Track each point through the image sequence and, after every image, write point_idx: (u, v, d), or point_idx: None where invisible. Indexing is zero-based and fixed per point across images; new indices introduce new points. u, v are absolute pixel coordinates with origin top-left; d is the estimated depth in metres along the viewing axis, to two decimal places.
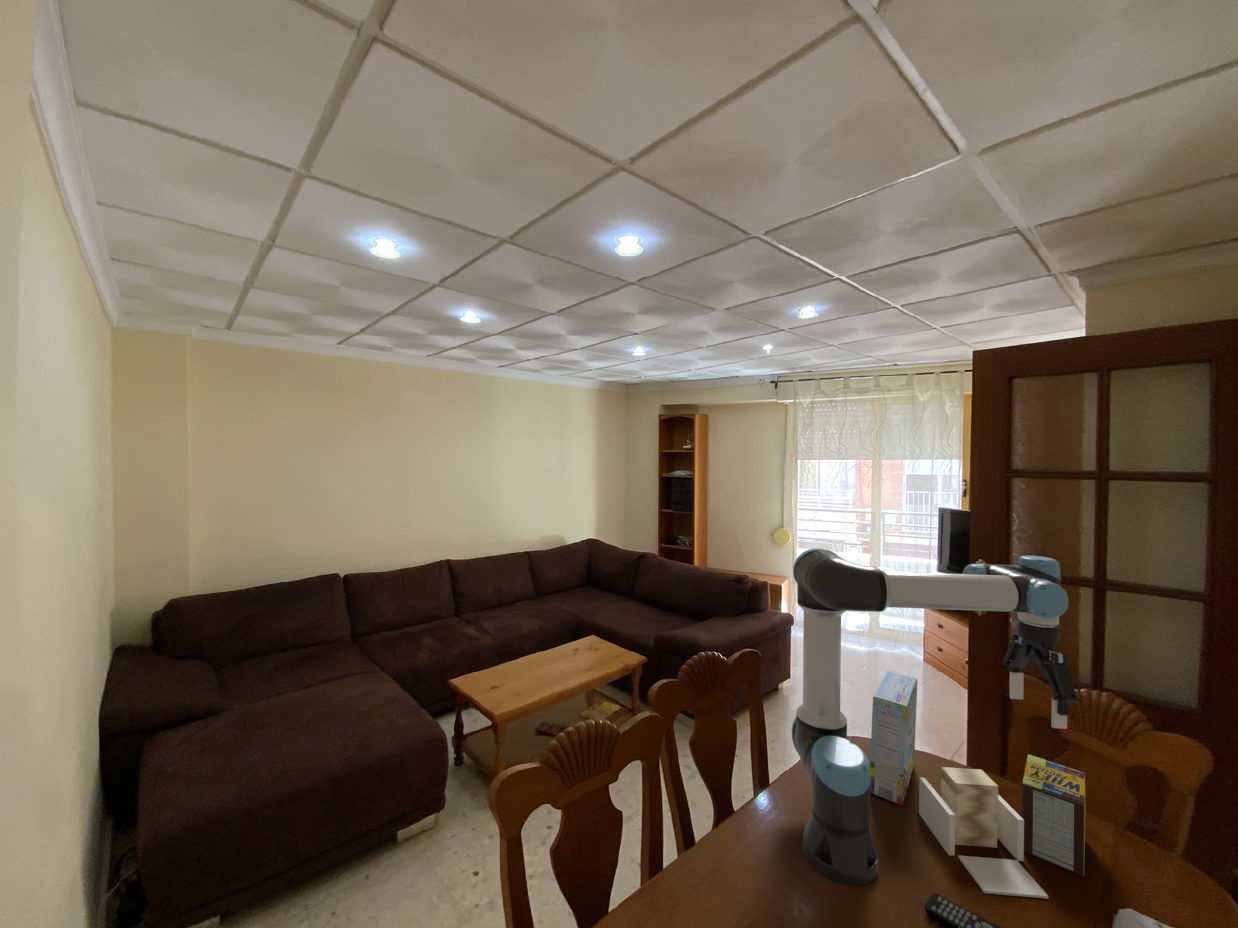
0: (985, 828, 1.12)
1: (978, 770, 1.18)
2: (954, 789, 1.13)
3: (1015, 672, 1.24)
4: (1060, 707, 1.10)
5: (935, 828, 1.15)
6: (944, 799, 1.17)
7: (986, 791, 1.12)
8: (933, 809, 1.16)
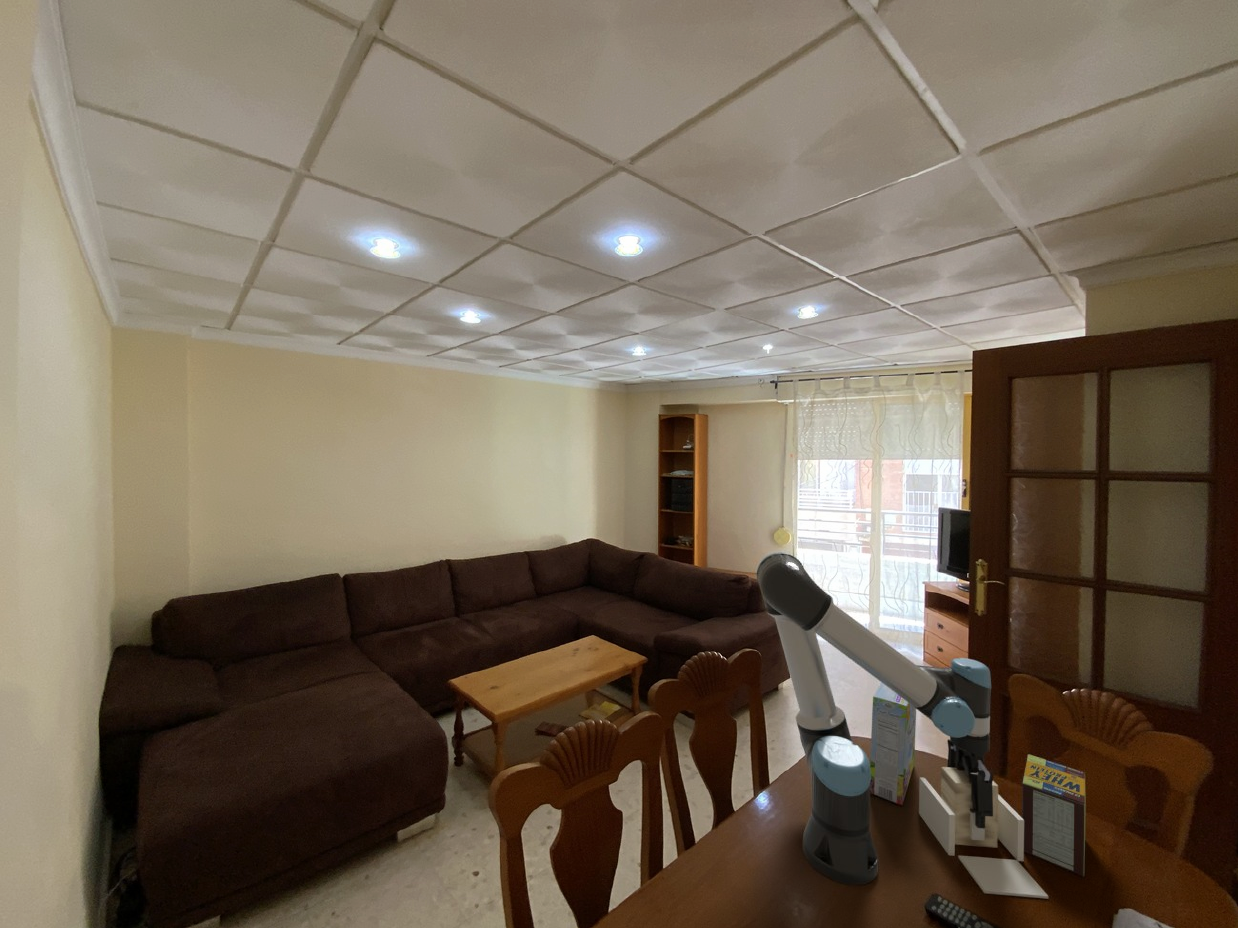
0: (985, 828, 1.12)
1: None
2: (954, 788, 1.13)
3: None
4: (977, 820, 1.11)
5: (935, 828, 1.15)
6: (944, 799, 1.17)
7: None
8: (933, 809, 1.16)
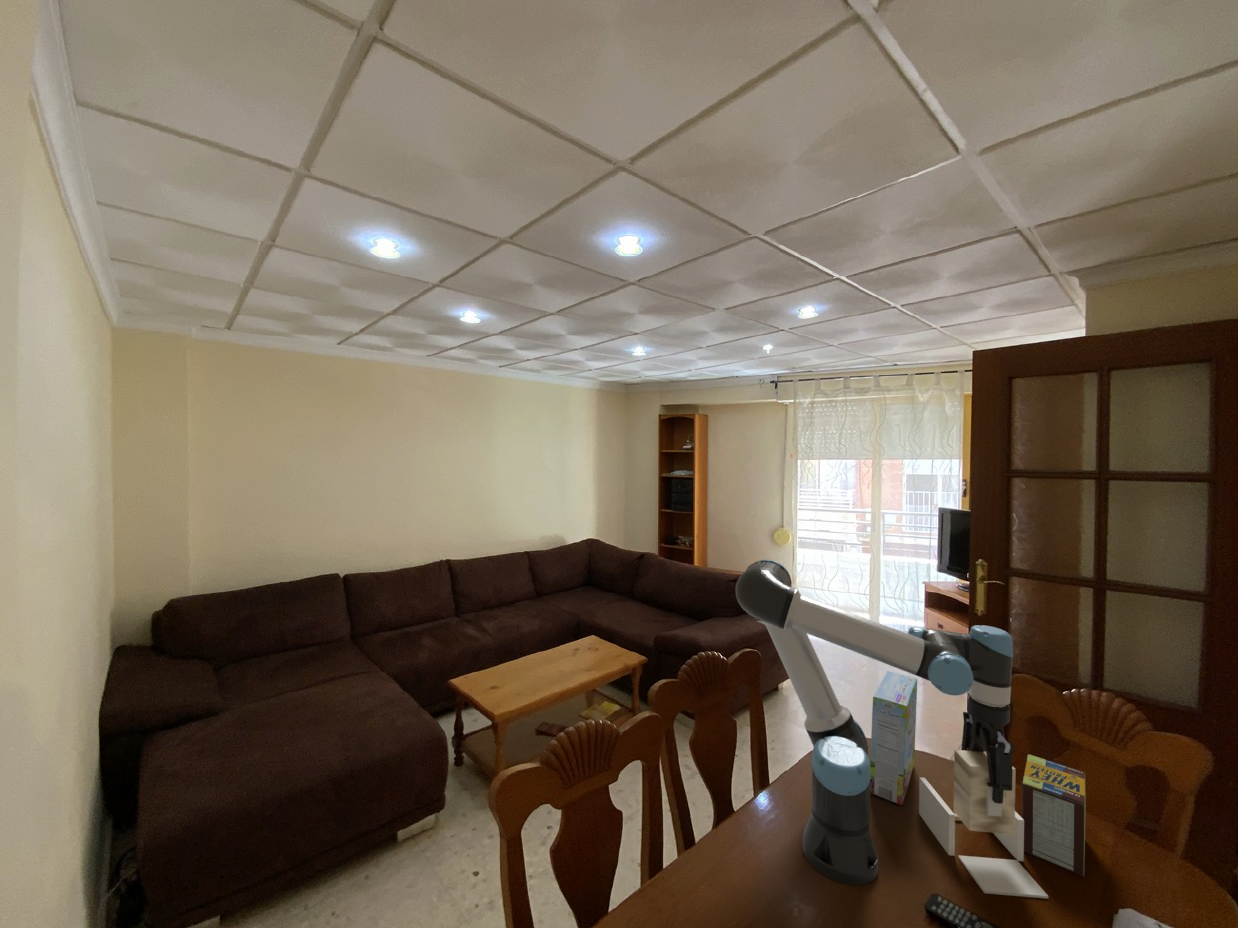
0: None
1: None
2: (969, 772, 1.07)
3: None
4: (994, 794, 1.05)
5: (935, 828, 1.15)
6: (957, 783, 1.11)
7: None
8: (933, 809, 1.16)
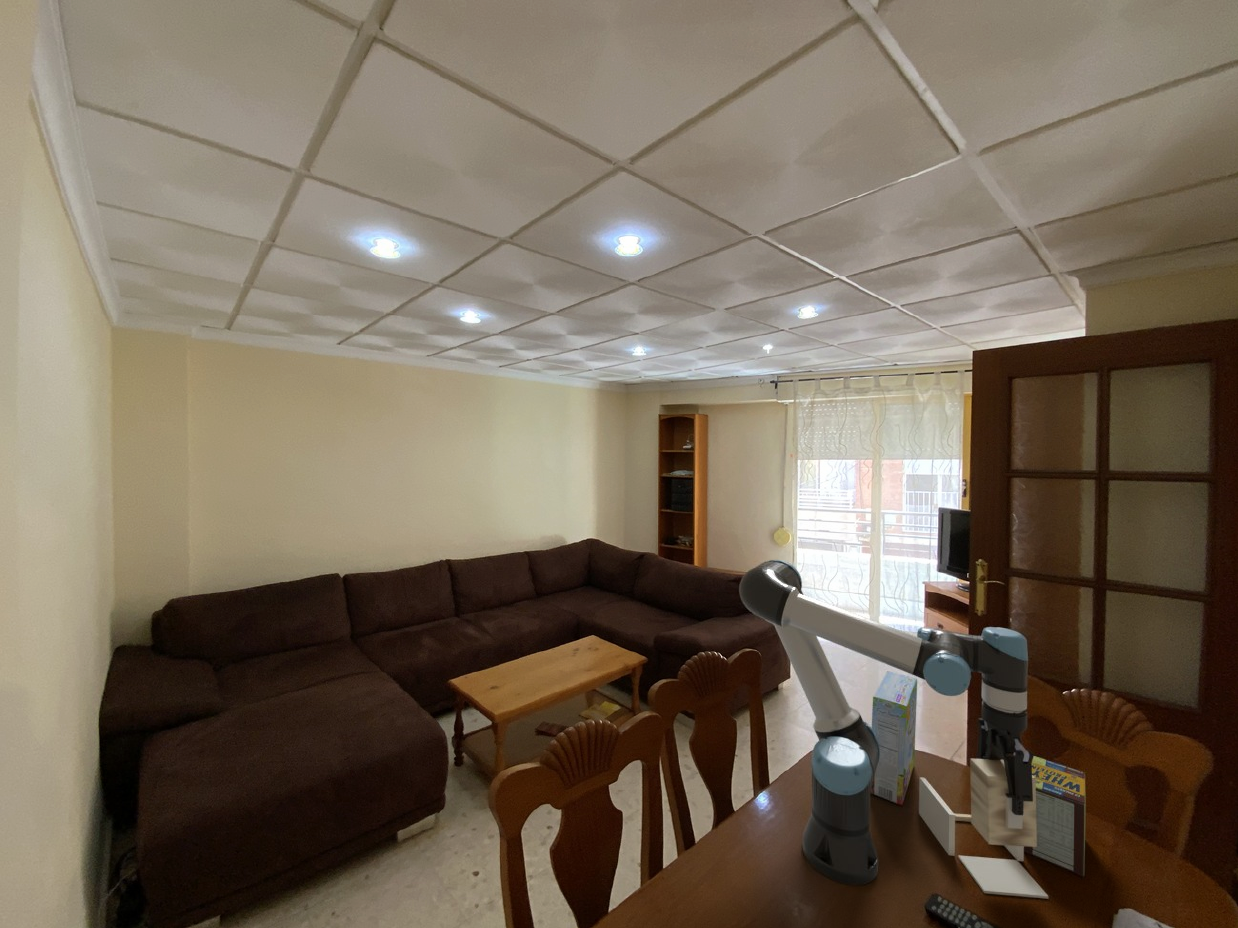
0: None
1: None
2: (986, 782, 1.02)
3: None
4: (1014, 805, 1.00)
5: (935, 828, 1.15)
6: (975, 794, 1.06)
7: None
8: (933, 809, 1.16)
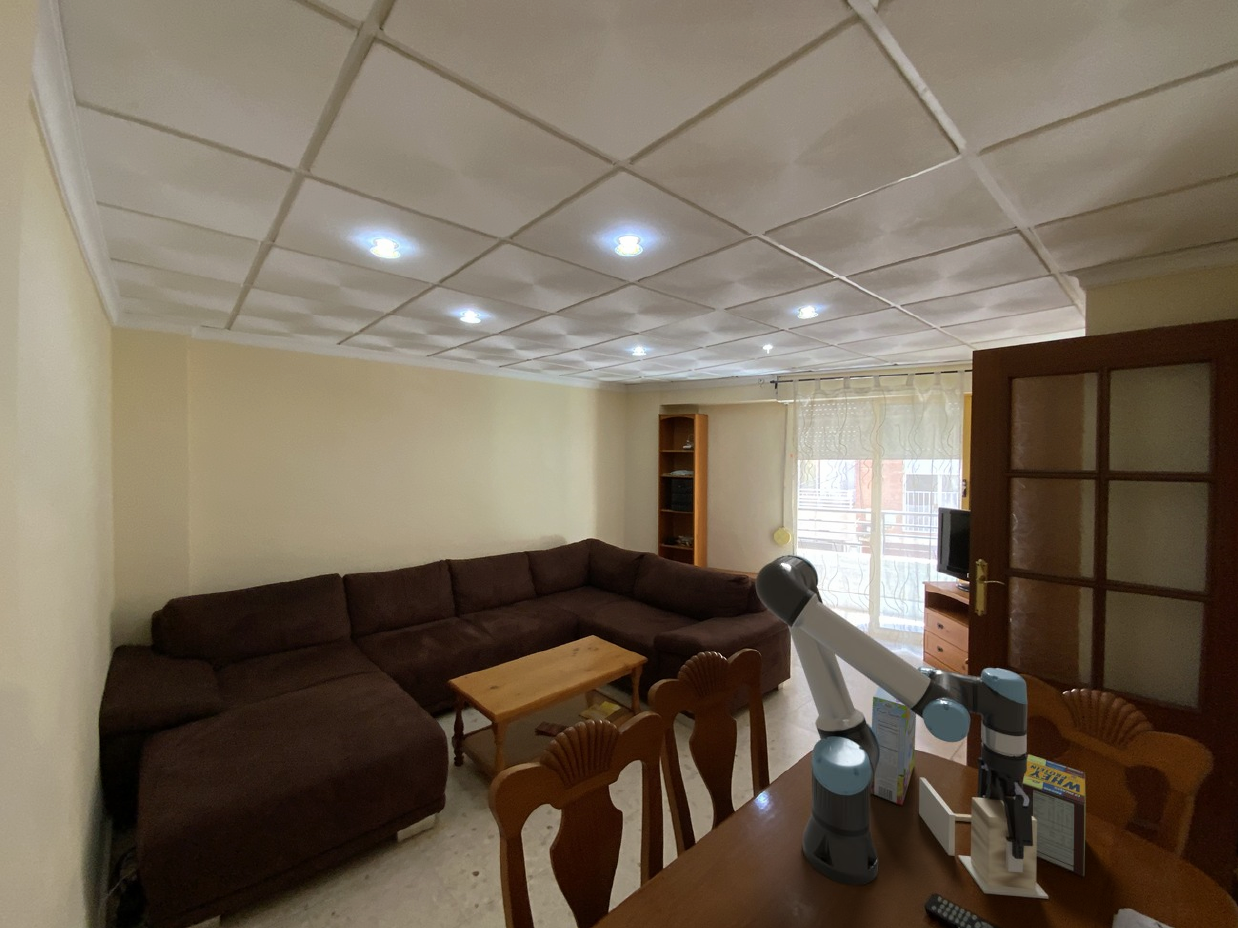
0: None
1: None
2: (988, 823, 1.02)
3: None
4: (1015, 849, 1.00)
5: (935, 828, 1.15)
6: (975, 833, 1.06)
7: None
8: (933, 809, 1.16)
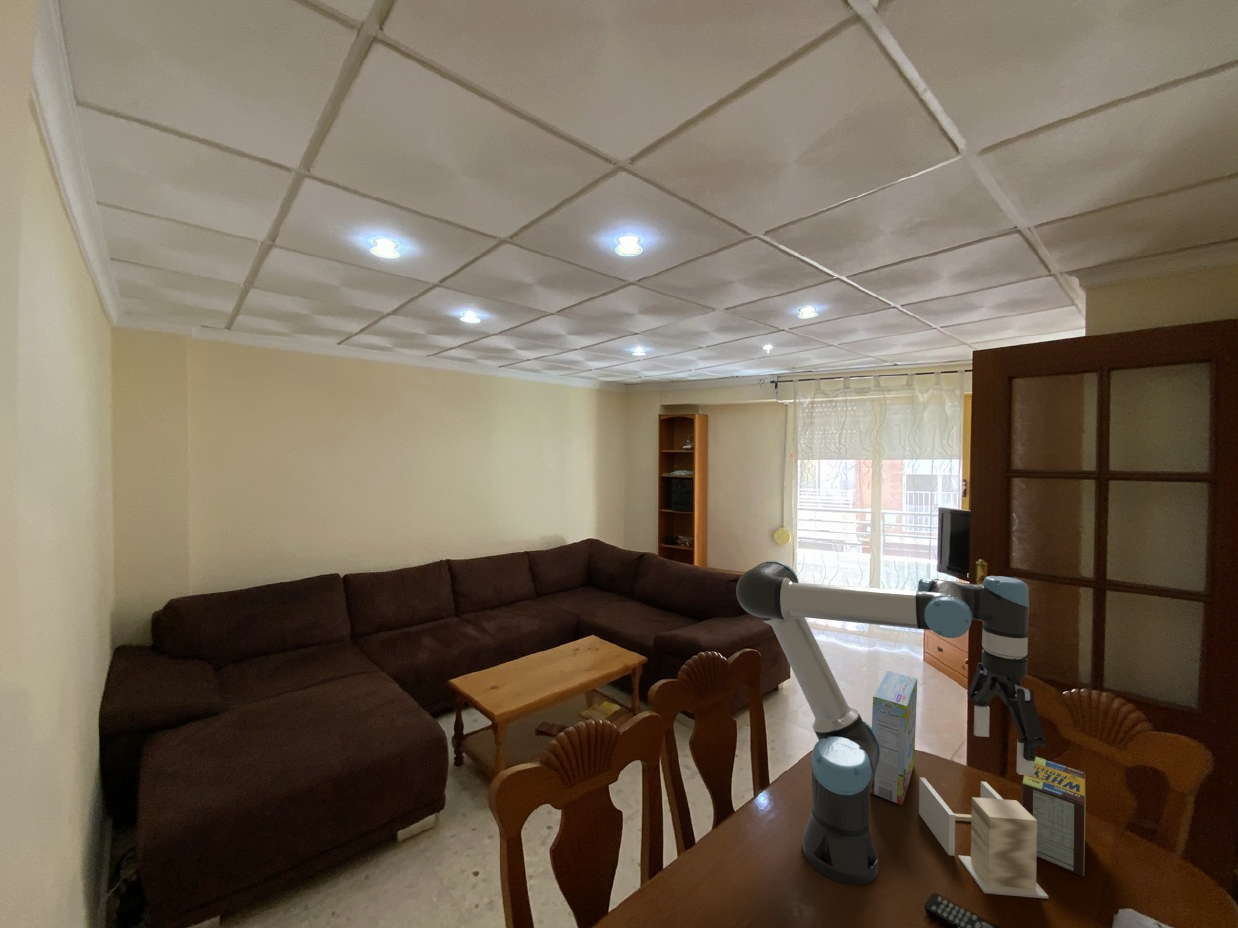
0: (1022, 867, 1.01)
1: (1013, 801, 1.06)
2: (988, 823, 1.02)
3: (980, 706, 1.11)
4: (1026, 751, 0.96)
5: (935, 828, 1.15)
6: (975, 833, 1.06)
7: (1024, 826, 1.01)
8: (933, 809, 1.16)
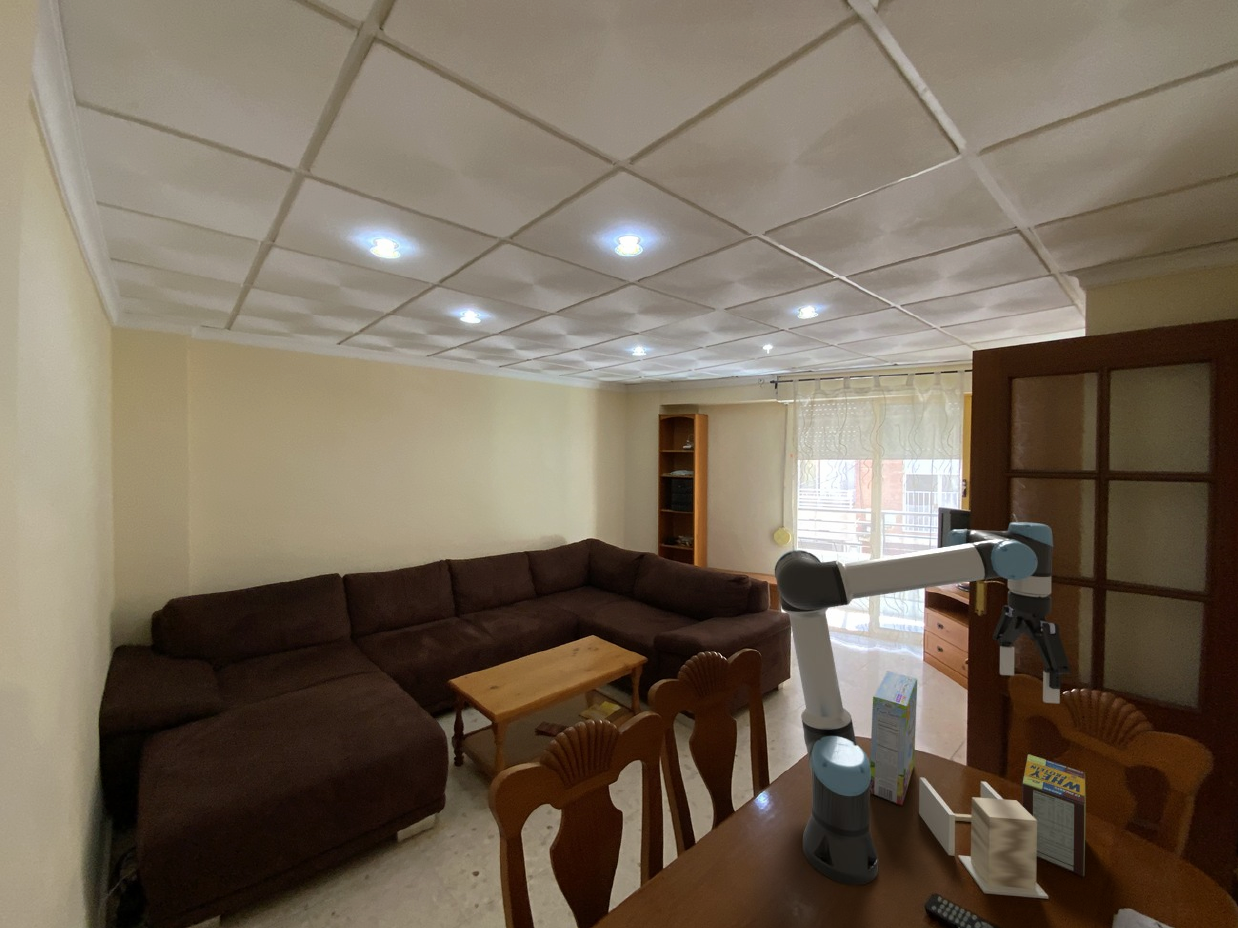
0: (1022, 867, 1.01)
1: (1013, 801, 1.06)
2: (988, 823, 1.02)
3: (1005, 646, 1.18)
4: (1052, 680, 1.03)
5: (935, 828, 1.15)
6: (975, 833, 1.06)
7: (1024, 826, 1.01)
8: (933, 809, 1.16)
